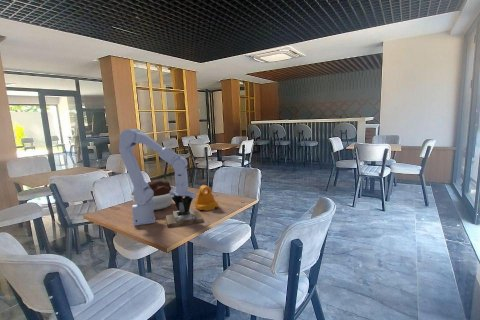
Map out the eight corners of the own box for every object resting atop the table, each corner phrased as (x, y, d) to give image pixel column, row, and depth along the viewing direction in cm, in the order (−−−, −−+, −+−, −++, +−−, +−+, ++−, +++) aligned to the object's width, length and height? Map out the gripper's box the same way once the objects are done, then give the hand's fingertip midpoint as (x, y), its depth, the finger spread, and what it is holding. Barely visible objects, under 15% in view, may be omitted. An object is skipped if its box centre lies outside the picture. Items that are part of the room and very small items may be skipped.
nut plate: (167, 227, 115) (167, 220, 115) (165, 218, 127) (165, 211, 126) (203, 221, 121) (202, 214, 120) (198, 213, 132) (198, 206, 131)
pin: (184, 217, 121) (183, 203, 119) (177, 216, 122) (176, 202, 121) (189, 214, 124) (188, 200, 123) (183, 213, 126) (182, 199, 125)
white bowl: (141, 219, 127) (138, 189, 124) (125, 207, 146) (123, 181, 144) (187, 207, 142) (185, 180, 140) (167, 198, 161) (166, 174, 159)
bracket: (200, 211, 135) (198, 189, 133) (195, 208, 141) (194, 186, 139) (218, 207, 140) (217, 186, 138) (213, 204, 146) (212, 183, 144)
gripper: (164, 183, 121) (166, 211, 123) (187, 186, 114) (189, 216, 116) (174, 180, 127) (176, 206, 129) (198, 182, 120) (199, 211, 122)
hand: (183, 210), depth 123 cm, fingers closed on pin, 4 cm apart
